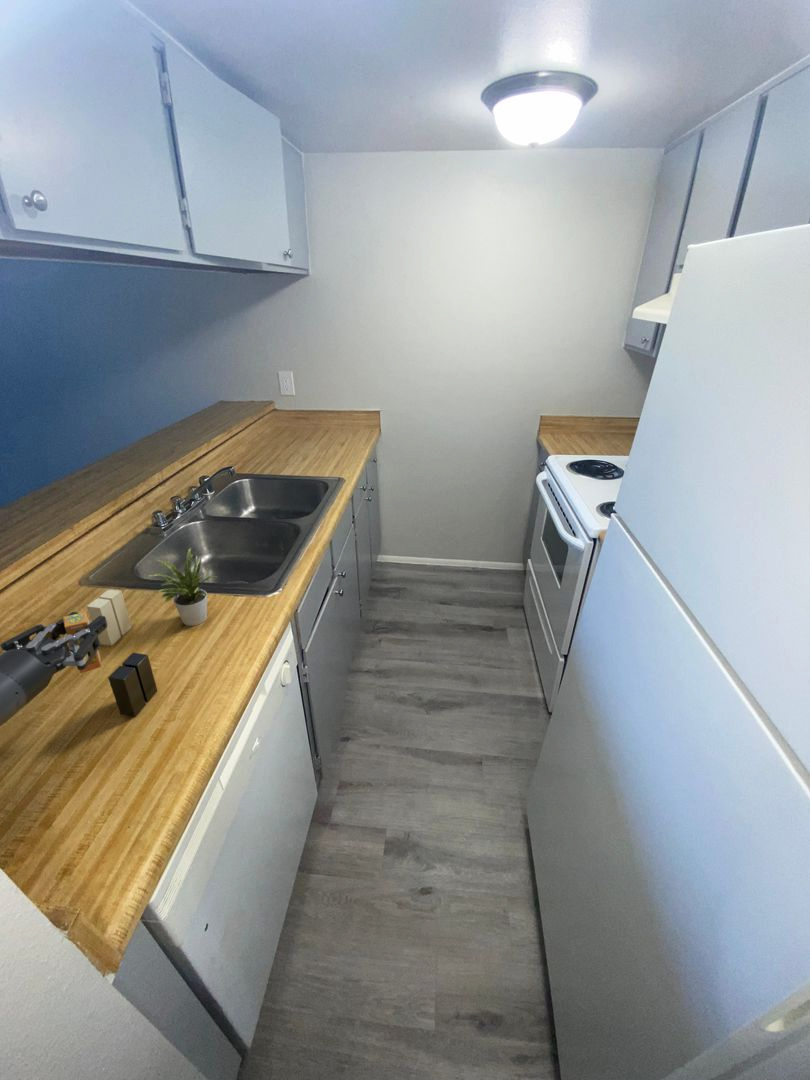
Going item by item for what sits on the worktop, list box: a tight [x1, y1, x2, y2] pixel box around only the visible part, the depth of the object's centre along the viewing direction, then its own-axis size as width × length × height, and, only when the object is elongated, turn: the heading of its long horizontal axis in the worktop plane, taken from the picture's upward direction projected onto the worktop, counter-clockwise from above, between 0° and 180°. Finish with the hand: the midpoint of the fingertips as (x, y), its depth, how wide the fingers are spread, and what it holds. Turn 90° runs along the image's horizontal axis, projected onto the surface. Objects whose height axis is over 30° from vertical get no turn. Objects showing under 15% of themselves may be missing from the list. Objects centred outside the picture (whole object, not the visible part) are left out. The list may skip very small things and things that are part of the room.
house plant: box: [145, 547, 216, 627], centre depth 107 cm, size 14×14×16 cm
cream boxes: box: [86, 588, 132, 647], centre depth 102 cm, size 6×3×10 cm, turn 171°
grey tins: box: [107, 652, 158, 718], centre depth 86 cm, size 6×3×9 cm, turn 171°
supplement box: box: [62, 611, 102, 674], centre depth 79 cm, size 3×3×10 cm
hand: (90, 618), depth 80 cm, fingers closed on supplement box, 4 cm apart
